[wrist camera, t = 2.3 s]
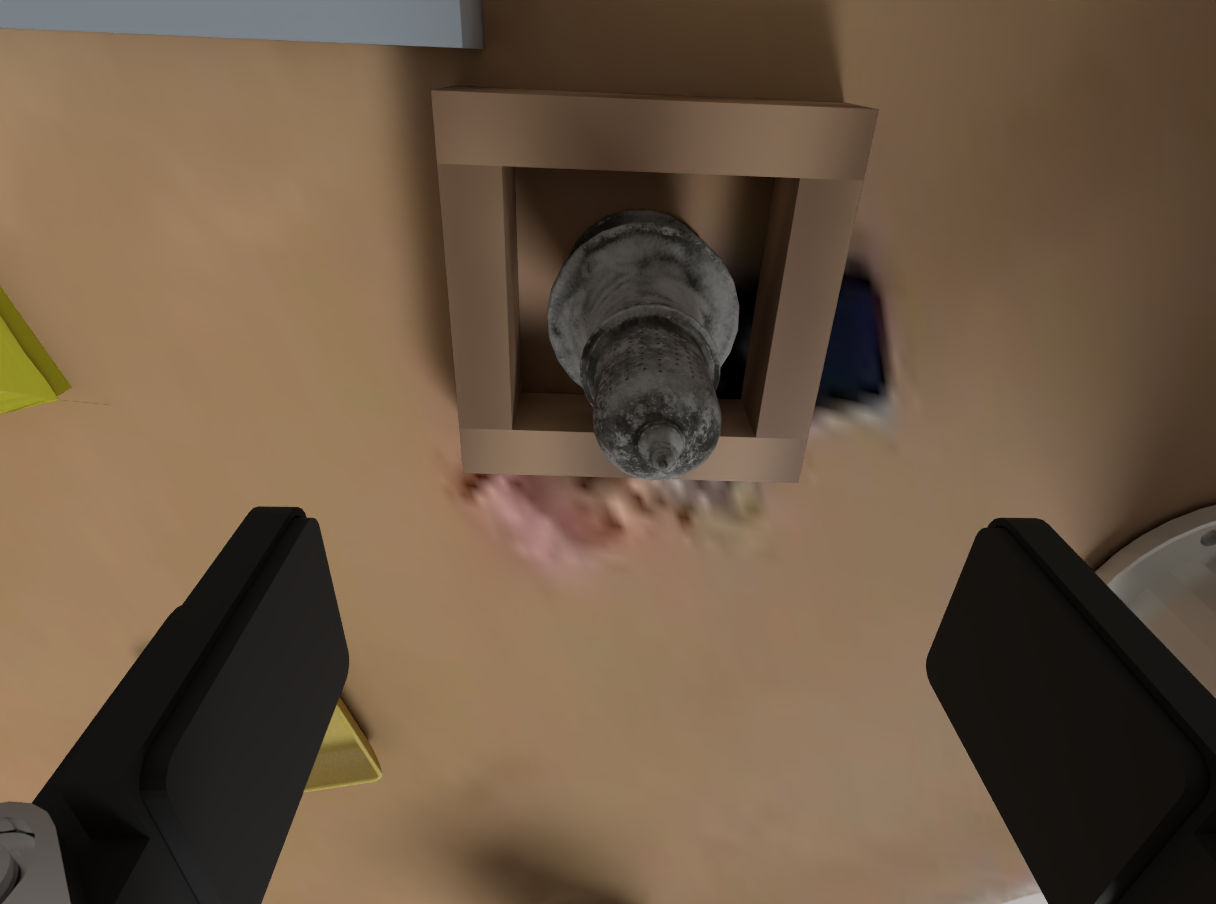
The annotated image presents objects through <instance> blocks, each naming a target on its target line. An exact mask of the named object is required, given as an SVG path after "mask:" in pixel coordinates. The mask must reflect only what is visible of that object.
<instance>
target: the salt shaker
mask: <svg viewBox="0 0 1216 904" xmlns="http://www.w3.org/2000/svg"><path fill="white" fill-rule="evenodd" d="M738 318H739V302H738V298H737V293H736V289H735V284H734V281H733V279H732V277H731V275H730V273H729V272H728V270H727V268H726V266H725V264H724V262H723V261H722V259H721V258H720V257H719V256H718V255H717V254H716V253H715V252H714V251H713V250H712V249H711V248H710V247H709V246H708V245H707V244H706V243H705V242H704V241H703V240H701V239H700V238H699V237H698V236H697V235H696V234H695V233H694V232H693V231H692V230H691V229H690V228H689V227H688V226H687V225H686V224H684V223H683V222H681V221H679V220H677V219H675V218H674V217H672V216H670V215H668V214H666V213H661V212H657V211H653V210H649V209H639V210H625V211H622V212H619V213H616V214H613V215H610V216H606V217H605V218H603V219H602V220H600V221H599V222H597V223H596V224H594V225H593V226H591V227H590V228H589V229H588V230H587V231H586V232H585V233H584V234H583V235H582V237H581V238H580V239H579V240H578V241H577V242H576V243H575V245H574V247H573V249H572V252H571V254H570V256H569V258H568V260H567V261H566V262H565V263H564V265H563V266H562V268H561V270H560V272H559V274H558V276H557V278H556V280H555V282H554V284H553V286H552V288H551V293H550V299H549V304H548V310H547V322H548V333H549V339H550V342H551V344H552V347H553V350H554V352H555V355H556V358H557V360H558V361H559V363H560V364H561V365H562V367H563V368H564V370H565V371H566V372H567V374H568V375H569V377H570V378H571V379H572V380H573V381H575V382H576V383H577V384H578V385H579V386H581V387H582V388H583V390H584V393H585V396H586V398H587V400H588V401H589V403H590V404H591V405H592V407H593V427H594V434H595V436H596V439H597V441H598V444H599V446H600V449H601V451H602V452H603V454H604V455H605V456H606V457H607V459H608V460H609V461H610V463H612V464H613V465H614V466H616V467H617V468H618V469H619V470H621V471H622V472H624V473H627V474H629V475H631V476H633V477H636V478H641V479H646V480H669V479H673V478H677V477H681V476H683V475H685V474H687V473H689V472H691V471H693V470H695V469H697V468H698V467H699V466H700V465H701V464H703V463H704V462H705V461H706V460H707V459H708V458H709V456H710V455H711V453H712V452H713V450H714V449H715V447H716V445H717V442H718V439H719V436H720V431H721V410H720V406H719V403H718V399H717V396H716V393H715V392H716V389H717V386H718V383H719V380H720V367H721V366H722V364H723V363H724V361H725V360H726V358H727V357H728V355H729V354H730V352H731V349H732V346H733V343H734V340H735V337H736V334H737V331H738Z"/></svg>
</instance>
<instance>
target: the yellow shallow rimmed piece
mask: <svg viewBox="0 0 1216 904" xmlns="http://www.w3.org/2000/svg"><path fill="white" fill-rule="evenodd" d="M381 777H382V771H381V767H380V764H379V762H378V759H377V757H376V755H375V752H374V750H373V748H372V747H371V745H370V743H369V742H368V740H367V739H366V737H365V736H364V734H363V732H362V731H361V729H360V728H359V726H358V724H357V723H356V721H355V720H354V718H353V717H352V715H351V713H350V712H349V710H348V709H347V707H346V706H345V704H344V702H343V701H342V699H341V698H340V697H339V700H338V702H337V705H336V708H335V710H334V713H333V716H332V718H331V721H330V724H329V726H328V729H327V731H326V734H325V737H324V739H323V742H322V745H321V747H320V750H319V752H318V755H317V758H316V760H315V763H314V766H313V768H312V771H311V774H310V776H309V779H308V781H307V784H306V787H305V789H304V792H311V791H317V790H324V789H330V788H336V787H344V786H349V785H357V784H362V783H370V782H375V781H377V780H379V779H380V778H381ZM304 792H303V793H304Z"/></svg>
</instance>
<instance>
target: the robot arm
mask: <svg viewBox="0 0 1216 904" xmlns="http://www.w3.org/2000/svg"><path fill="white" fill-rule="evenodd" d="M348 669H349V653H348V648H347V644H346V639H345V635H344V631H343V626H342V622H341V618H340V613H339V609H338V605H337V600H336V596H335V592H334V587H333V583H332V579H331V574H330V570H329V566H328V561H327V557H326V552H325V548H324V544H323V539H322V535H321V531H320V527H319V524H318V521H317V520H316V519H315V518H307V517H306V515H305V512H304V511H303V510H302V509H301V508H299V507H255V508H253V509H252V510H251V511H250V512H249V513H248V515H247V516H246V517H245V519H244V520H243V522H242V523H241V524H240V526H239V527H238V529H237V530H236V531H235V533H234V534H233V535H232V537H231V538H230V540H229V541H228V542H227V544H226V545H225V547H224V548H223V549H222V551H221V552H220V553H219V555H218V556H217V558H216V559H215V560H214V562H213V563H212V565H211V566H210V567H209V569H208V570H207V571H206V573H205V574H204V576H203V577H202V578H201V580H200V581H199V583H198V584H197V585H196V587H195V588H194V589H193V591H192V592H191V594H190V595H189V596H188V598H187V599H186V601H185V602H184V603H183V605H181V606H179V607H177V608H176V609H175V610H174V611H173V612H172V613H171V614H170V615H169V617H168V618H167V619H166V621H165V622H164V623H163V625H162V626H161V627H160V629H159V630H158V631H157V633H156V634H155V636H154V637H153V638H152V640H151V641H150V642H149V644H148V645H147V646H146V648H145V649H144V651H143V652H142V653H141V655H140V656H139V657H138V659H137V660H136V661H135V663H134V664H133V666H132V667H131V668H130V670H129V671H128V672H127V674H126V675H125V677H124V678H123V679H122V681H121V682H120V683H119V685H118V686H117V687H116V689H115V690H114V692H113V693H112V694H111V696H110V697H109V698H108V700H107V701H106V702H105V704H104V705H103V707H102V708H101V709H100V711H99V712H98V713H97V715H96V716H95V717H94V719H93V720H92V722H91V723H90V724H89V726H88V727H87V728H86V730H85V731H84V733H83V734H82V735H81V737H80V738H79V739H78V741H77V742H76V743H75V745H74V746H73V748H72V749H71V750H70V752H69V753H68V754H67V756H66V757H65V758H64V760H63V761H62V763H61V764H60V765H59V767H58V768H57V769H56V771H55V772H54V774H53V775H52V776H51V778H50V779H49V780H48V782H47V783H46V784H45V786H44V787H43V789H42V790H41V791H40V793H39V794H38V795H37V797H36V798H35V799H34V801H33V802H32V803H22V802H10V801H9V802H4V803H0V904H261V903H262V900H263V897H264V895H265V892H266V889H267V887H268V884H269V882H270V879H271V876H272V874H273V871H274V868H275V866H276V863H277V860H278V858H279V855H280V853H281V850H282V847H283V845H284V842H285V839H286V837H287V834H288V832H289V829H290V826H291V824H292V821H293V818H294V816H295V813H296V810H297V808H298V805H299V803H300V800H301V797H302V795H303V792H304V789H305V787H306V784H307V781H308V779H309V776H310V774H311V771H312V768H313V766H314V763H315V760H316V758H317V755H318V752H319V750H320V747H321V745H322V742H323V739H324V737H325V734H326V731H327V729H328V726H329V724H330V721H331V718H332V716H333V713H334V710H335V708H336V705H337V702H338V700H339V697H340V695H341V692H342V689H343V687H344V684H345V681H346V678H347V674H348ZM926 671H927V676H928V679H929V682H930V684H931V686H932V688H933V690H934V691H935V693H936V695H937V697H938V699H939V701H940V703H941V705H942V706H943V708H944V710H945V712H946V714H947V716H948V718H949V719H950V721H951V723H952V725H953V727H954V729H955V731H956V733H957V734H958V736H959V738H960V740H961V742H962V744H963V746H964V747H965V749H966V751H967V753H968V755H969V757H970V759H971V761H972V762H973V764H974V766H975V768H976V770H977V772H978V774H979V775H980V777H981V779H982V781H983V783H984V785H985V787H986V788H987V790H988V792H989V794H990V796H991V798H992V800H993V802H994V803H995V805H996V807H997V809H998V811H999V813H1000V815H1001V816H1002V818H1003V820H1004V822H1005V824H1006V826H1007V828H1008V830H1009V831H1010V833H1011V835H1012V837H1013V839H1014V841H1015V843H1016V844H1017V846H1018V848H1019V850H1020V852H1021V854H1022V856H1023V857H1024V859H1025V861H1026V863H1027V865H1028V867H1029V869H1030V871H1031V872H1032V874H1033V876H1034V878H1035V880H1036V882H1037V884H1038V885H1039V887H1040V889H1041V891H1042V893H1043V895H1044V897H1045V899H1046V900H1047V902H1048V904H1216V505H1214V506H1210V507H1206V508H1202V509H1199V510H1196V511H1193V512H1191V513H1188V514H1186V515H1183V516H1180V517H1178V518H1175V519H1173V520H1170V521H1168V522H1166V523H1164V524H1162V525H1160V526H1159V527H1157V528H1155V529H1153V530H1151V531H1149V532H1147V533H1145V534H1143V535H1142V536H1140V537H1139V538H1137V539H1136V540H1134V541H1133V542H1131V543H1130V544H1128V545H1127V546H1125V547H1124V548H1123V549H1121V550H1120V551H1118V552H1117V553H1116V554H1114V555H1113V556H1112V557H1111V558H1110V559H1109V560H1108V561H1107V562H1105V563H1104V564H1103V565H1102V566H1101V567H1100V568H1099V569H1098V570H1096V571H1095V572H1094V571H1093V570H1092V569H1091V568H1090V567H1089V566H1088V565H1087V564H1086V563H1085V562H1084V561H1083V560H1082V559H1081V558H1080V557H1079V556H1078V555H1077V553H1076V552H1075V551H1074V550H1073V549H1072V548H1071V547H1070V546H1069V545H1068V544H1067V543H1066V542H1065V541H1064V540H1063V539H1062V538H1061V537H1060V536H1059V535H1058V534H1057V533H1056V532H1055V531H1054V530H1053V528H1052V527H1051V526H1050V525H1049V524H1047V523H1046V522H1045V521H1043V520H1041V519H1037V518H997V519H994V520H993V521H992V522H991V523H990V524H989V525H988V527H987V528H983V529H981V530H980V531H979V532H978V534H977V535H976V537H975V540H974V542H973V545H972V547H971V550H970V552H969V555H968V557H967V560H966V562H965V565H964V567H963V570H962V572H961V574H960V577H959V579H958V582H957V584H956V587H955V589H954V592H953V594H952V597H951V599H950V602H949V604H948V607H947V609H946V611H945V614H944V616H943V619H942V621H941V624H940V626H939V629H938V631H937V634H936V636H935V639H934V641H933V644H932V646H931V648H930V651H929V653H928V656H927V660H926Z"/></svg>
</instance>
